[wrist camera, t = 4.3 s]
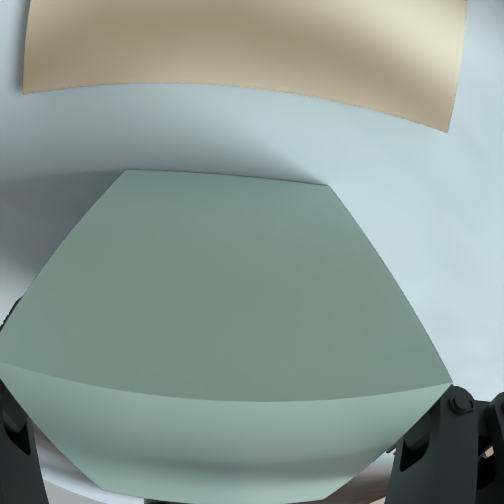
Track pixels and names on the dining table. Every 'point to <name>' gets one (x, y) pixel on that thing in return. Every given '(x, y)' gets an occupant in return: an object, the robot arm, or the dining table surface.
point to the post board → (258, 48)
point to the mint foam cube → (219, 342)
